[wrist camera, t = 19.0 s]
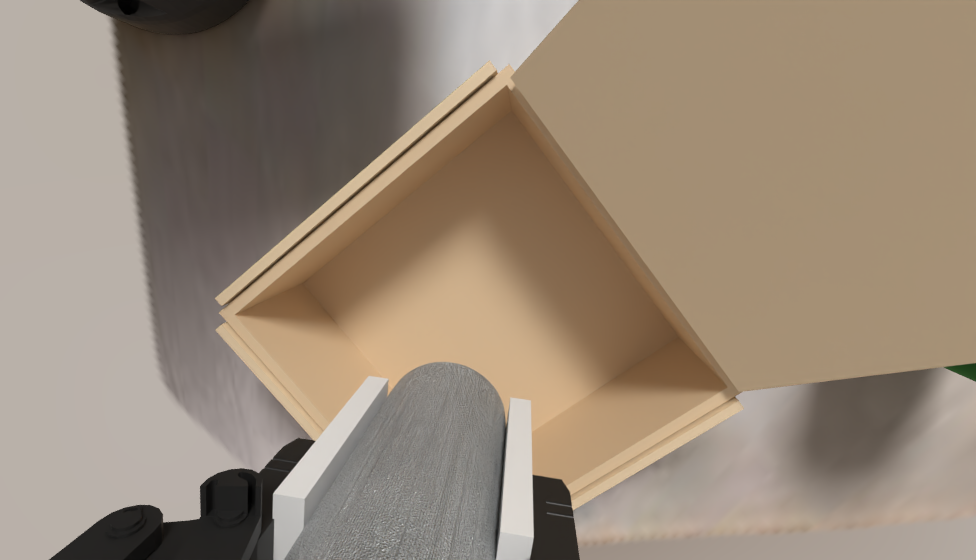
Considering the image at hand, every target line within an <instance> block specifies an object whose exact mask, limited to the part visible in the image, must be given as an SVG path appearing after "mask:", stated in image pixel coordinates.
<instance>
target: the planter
mask: <svg viewBox="0 0 976 560" xmlns="http://www.w3.org/2000/svg"><path fill="white" fill-rule="evenodd" d="M505 434H506V418H505V410H504V405H503V402H502V400H501V398H500V396H499V394H498V392H497V390H496V389H495V388H494V386H493V385H492V384H491V383H490V382H489V381H488V380H487V379H486V378H485V377H484V376H483V375H481V374H480V373H478V372H477V371H475V370H473V369H471V368H469V367H467V366H464V365H461V364H457V363H452V362H433V363H428V364H424V365H422V366H419V367H417V368H415V369H413V370H411V371H410V372H408V373H407V374H406V375H405V376H403V377H402V378H401V379H400V380H399V382H398V383H397V384H396V385H395V387H394V388H393V389H392V391H391V392H390V393H389V395H388V397H387V398H386V400H385V401H384V403H383V404H382V406H381V408H380V409H379V411H378V412H377V414H376V415H375V417H374V419H373V420H372V422H371V423H370V425H369V426H368V428H367V430H366V431H365V433H364V434H363V436H362V437H361V439H360V441H359V442H358V444H357V445H356V447H355V448H354V450H353V452H352V453H351V455H350V456H349V458H348V460H347V461H346V463H345V464H344V466H343V467H342V469H341V471H340V472H339V474H338V475H337V477H336V478H335V480H334V482H333V483H332V485H331V486H330V488H329V489H328V491H327V493H326V494H325V496H324V497H323V499H322V500H321V502H320V504H319V505H318V507H317V508H316V510H315V511H314V513H313V515H312V516H311V518H310V519H309V521H308V522H307V524H306V526H305V527H304V529H303V530H302V532H301V533H300V535H299V537H298V538H297V540H296V541H295V543H294V544H293V546H292V548H291V549H290V551H289V552H288V554H287V555H286V557H285V559H284V560H495V559H496V547H497V535H498V522H499V509H500V497H501V484H502V472H503V459H504V447H505Z"/></svg>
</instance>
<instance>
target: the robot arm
mask: <svg viewBox="0 0 976 560" xmlns="http://www.w3.org/2000/svg"><path fill="white" fill-rule="evenodd" d="M81 1H82V2H83V3H85V4H87V5H89V6H90V7H92V8H94V9H95V10H97V11H99V12H101V13H103V14H106V15H108V16H110V17H113V18H115V19H118V20H120V21H123V22H125V23H128V24H130V25H133V26H135V27H138V28H141V29H144V30H147V31H151V32H156V33H162V34H187V33H194V32H198V31H202V30H205V29H208V28H210V27H213V26H215V25H217V24H219V23H221V22H223V21H225V20H226V19H228V18H229V17H231V16H232V15H233V14H235V13H236V12H237V11H238V10H239V9H241V8H242V7H243V6H244V5H245V4H246V3H247V2H248V0H81ZM388 382H389V379H387V378H380V377H374V376H368V377H367V379H366V380H365V381H364V382H363V384H362V385H361V386H360V387H359V389H358V390H357V391H356V392H355V393H354V395H353V396H352V397H351V398H350V400H349V401H348V402H347V403H346V405H345V406H344V407H343V408H342V409H341V411H340V412H339V413H338V414H337V416H336V417H335V418H334V419H333V421H332V422H331V423H330V424H329V425H328V427H327V428H326V429H325V430H324V432H323V433H322V434H321V435H320V436H319V438H318V439H317V440H316V441H313V440H306V439H300V438H298V439H296V440H294V441H293V442H291V443H289V444H287V445H285V446H284V447H283V448H282V449H281V450H280V451H279V452H278V453H277V454H276V455H275V456H274V457H273V460H271V461H270V462H269V463H268V464H267V465H266V466H265V469H262V470H261V472H260V473H257V472H255V471H253V470H249V469H242V468H241V469H231V470H227V471H224V472H220V473H217V474H216V475H214V476H212V477H210V478H208V479H207V480H206V481H205V482H204V483H203V484H202V485H201V486H200V500H201V501H200V503H201V517H200V519H197V520H190V521H178V522H166V523H163V514H162V513H161V511H160V509H159V508H156V507H154V506H151V505H136V506H131V507H126V508H123V509H120V510H118V511H115V512H113V513H111V514H109V515H107V516H106V517H104V518H103V519H101V520H100V521H98V522H97V523H95V524H94V525H93V526H92V527H90V528H89V529H88V530H87V531H85V532H84V533H83V534H81V535H80V536H79V537H78V538H76V539H75V540H74V541H73V542H71V543H70V544H69V545H67V546H66V547H65V548H64V549H62V550H61V551H60V552H59V553H57V554H56V555H55V556H53V557H52V558H51V559H50V560H284V559H285V557H286V555H287V554H288V552H289V551H290V549H291V548H292V546H293V544H294V543H295V541H296V540H297V538H298V537H299V535H300V533H301V532H302V530H303V529H304V527H305V526H306V524H307V522H308V521H309V519H310V518H311V516H312V515H313V513H314V511H315V510H316V508H317V507H318V505H319V504H320V502H321V500H322V499H323V497H324V496H325V494H326V493H327V491H328V489H329V488H330V486H331V485H332V483H333V482H334V480H335V478H336V477H337V475H338V474H339V472H340V471H341V469H342V467H343V466H344V464H345V463H346V461H347V460H348V458H349V456H350V455H351V453H352V452H353V450H354V448H355V447H356V445H357V444H358V442H359V441H360V439H361V437H362V436H363V434H364V433H365V431H366V430H367V428H368V426H369V425H370V423H371V422H372V420H373V419H374V417H375V415H376V414H377V412H378V411H379V409H380V408H381V406H382V404H383V403H384V401H385V400H386V398H387V394H388ZM495 560H580V559H579V553H578V544H577V537H576V530H575V523H574V519H573V509H572V502H571V495H570V491H569V490H568V488H567V487H566V485H565V484H564V482H563V481H562V479H556V478H550V477H544V476H538V475H532V430H531V400H525V399H518V398H512V397H510V403H509V410H508V417H507V424H506V434H505V447H504V459H503V472H502V484H501V497H500V509H499V522H498V535H497V547H496V559H495Z"/></svg>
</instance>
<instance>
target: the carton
mask: <svg viewBox="0 0 976 560" xmlns="http://www.w3.org/2000/svg"><path fill="white" fill-rule="evenodd" d="M514 73H515V71H514V70H513V69H512V67H511V66H510V65H508V66H507V67H505V68H504V69H503V70H502V71H501V72H500V73H497V70H496V68H495V67H494V66H493V64H492V63H491V62H490V60H489V61H488V62H487V63H486V64H485V65H484V66H482V67H481V68H480V69H479V70H478V71H477V72H475V73H474V74H473V75H472V76H471V77H470V78H469V79H467V80H466V81H465V82H464V83H463V84H462V85H460V86H459V87H458V88H457V89H456V90H455V91H454V92H452V93H451V94H450V95H449V96H448V97H447V98H445V99H444V100H443V101H442V102H441V103H440V104H439V105H437V106H436V107H435V108H434V109H433V110H432V111H430V112H429V113H428V114H427V115H426V116H425V117H424V118H422V119H421V120H420V121H419V122H418V123H417V124H415V125H414V126H413V127H412V128H411V129H410V130H409V131H407V132H406V133H405V134H404V135H403V136H402V137H400V138H399V139H398V140H397V141H396V142H395V143H394V144H392V145H391V146H390V147H389V148H388V149H387V150H385V151H384V152H383V153H382V154H381V155H380V156H379V157H377V158H376V159H375V160H374V161H373V162H372V163H370V164H369V165H368V166H367V167H366V168H365V169H364V170H362V171H361V172H360V173H359V174H358V175H357V176H355V177H354V178H353V179H352V180H351V181H350V182H349V183H347V184H346V185H345V186H344V187H343V188H342V189H340V190H339V191H338V192H337V193H336V194H335V195H334V196H332V197H331V198H330V199H329V200H328V201H327V202H325V203H324V204H323V205H322V206H321V207H320V208H319V209H317V210H316V211H315V212H314V213H313V214H312V215H310V216H309V217H308V218H307V219H306V220H305V221H304V222H302V223H301V224H300V225H299V226H298V227H297V228H295V229H294V230H293V231H292V232H291V233H290V234H289V235H287V236H286V237H285V238H284V239H283V240H282V241H280V242H279V243H278V244H277V245H276V246H275V247H274V248H272V249H271V250H270V251H269V252H268V253H267V254H265V255H264V256H263V257H262V258H261V259H260V260H259V261H257V262H256V263H255V264H254V265H253V266H252V267H250V268H249V269H248V270H247V271H246V272H245V273H244V274H242V275H241V276H240V277H239V278H238V279H237V280H235V281H234V282H233V283H232V284H231V285H230V286H229V287H227V288H226V289H225V290H224V291H223V292H222V293H220V294H219V295H218V296H217V297H216V298H215V299H216V300H217V302H218V303H219V304H220V305H221V306H223V305H225V304H228V303H229V304H228V305H227V306H226V307H225V308H224V309H222V310H221V311H220V312H219V313H220V315H221V316H222V317H223V318H224V319H225V320H226V321H227V322H226V323H223V324H221V325H220V326H219V327H218V328H217V329H216V331H217V333H218V334H219V335H220V336H221V337H222V338H223V339H224V340H225V341H226V343H227V344H228V345H229V346H230V347H231V348H232V349H233V350H234V352H235V353H236V354H237V355H238V356H239V357H240V358H241V359H242V361H243V362H244V363H245V364H246V365H247V366H248V367H249V368H250V370H251V371H252V372H253V373H254V374H255V375H256V376H257V377H258V378H259V380H260V381H261V382H262V383H263V384H264V385H265V386H266V387H267V389H268V390H269V391H270V392H271V393H272V394H273V395H274V396H275V398H276V399H277V400H278V401H279V402H280V403H281V404H282V405H283V406H284V408H285V409H286V410H287V411H288V412H289V413H290V414H291V415H292V417H293V418H294V419H295V420H296V421H297V422H298V423H299V424H300V426H301V427H302V428H303V429H304V430H305V431H306V432H307V433H308V435H309V436H310V437H311V438H312V439H313V440H314V441H316V440H317V439H318V438H319V436H320V435H321V434H322V433H323V432H324V430H325V429H326V428H327V427H328V425H329V424H330V423H331V422H332V421H333V419H334V418H335V417H336V416H337V414H338V413H339V412H340V411H341V409H342V408H343V407H344V406H345V405H346V403H347V402H348V401H349V400H350V398H351V397H352V396H353V395H354V393H355V392H356V391H357V390H358V389H359V387H360V386H361V385H362V384H363V382H364V381H365V380H366V379H367V377H368V376H374V377H380V378H387V379H389V382H388V394H387V397H388V395H389V393H390V392H391V391H392V389H393V388H394V387H395V385H396V384H397V383H398V382H399V380H400V379H401V378H402V377H403V376H405V375H406V374H407V373H408V372H410V371H411V370H413V369H415V368H417V367H419V366H422V365H424V364H428V363H433V362H452V363H457V364H461V365H464V366H467V367H469V368H471V369H473V370H475V371H477V372H478V373H480V374H481V375H483V376H484V377H485V378H486V379H487V380H488V381H489V382H490V383H491V384H492V385H493V386H494V388H495V389H496V390H497V392H498V394H499V396H500V398H501V400H502V402H503V405H504V410H505V418H506V424H507V417H508V410H509V403H510V397H512V398H518V399H525V400H531V430H532V475H538V476H544V477H550V478H556V479H562V481H563V482H564V484H565V485H566V487H567V488H568V490H569V491H570V495H571V502H572V509H573V510H575V509H576V508H578V507H580V506H581V505H583V504H585V503H586V502H588V501H590V500H591V499H593V498H595V497H596V496H598V495H600V494H601V493H603V492H605V491H606V490H608V489H610V488H612V487H613V486H615V485H617V484H618V483H620V482H622V481H623V480H625V479H627V478H628V477H630V476H632V475H633V474H635V473H637V472H638V471H640V470H642V469H643V468H645V467H647V466H648V465H650V464H652V463H654V462H655V461H657V460H659V459H660V458H662V457H664V456H665V455H667V454H669V453H670V452H672V451H674V450H675V449H677V448H679V447H680V446H682V445H684V444H685V443H687V442H689V441H691V440H692V439H694V438H696V437H697V436H699V435H701V434H702V433H704V432H706V431H707V430H709V429H711V428H712V427H714V426H716V425H717V424H719V423H721V422H722V421H724V420H726V419H728V418H729V417H731V416H733V415H734V414H736V413H738V412H739V411H741V410H743V409H744V408H743V406H742V405H741V404H740V402H739V401H738V400H737V399H736V398H735V396H736V395H738V394H740V393H741V392H739V391H738V390H737V389H736V387H735V386H734V385H733V383H732V382H731V380H730V379H729V378H728V376H727V375H726V374H725V372H724V371H723V369H722V368H721V367H720V365H719V364H718V363H717V361H716V360H715V358H714V357H713V356H712V354H711V353H710V352H709V350H708V349H707V347H706V346H705V345H704V343H703V342H702V341H701V339H700V338H699V336H698V335H697V334H696V332H695V331H694V330H693V328H692V327H691V325H690V324H689V323H688V321H687V320H686V319H685V317H684V316H683V314H682V313H681V312H680V310H679V309H678V308H677V306H676V305H675V304H674V302H673V301H672V299H671V298H670V297H669V295H668V294H667V293H666V291H665V290H664V288H663V287H662V286H661V284H660V283H659V282H658V280H657V279H656V277H655V276H654V275H653V273H652V272H651V271H650V269H649V268H648V266H647V265H646V264H645V262H644V261H643V260H642V258H641V257H640V255H639V254H638V253H637V251H636V250H635V249H634V247H633V246H632V244H631V243H630V242H629V240H628V239H627V238H626V236H625V235H624V233H623V232H622V231H621V229H620V228H619V227H618V225H617V224H616V223H615V221H614V220H613V218H612V217H611V216H610V214H609V213H608V212H607V210H606V209H605V207H604V206H603V205H602V203H601V202H600V201H599V199H598V198H597V196H596V195H595V194H594V192H593V191H592V190H591V188H590V187H589V185H588V184H587V183H586V181H585V180H584V179H583V177H582V176H581V174H580V173H579V172H578V170H577V169H576V168H575V166H574V165H573V163H572V162H571V161H570V159H569V158H568V157H567V155H566V154H565V152H564V151H563V150H562V148H561V147H560V146H559V144H558V143H557V142H556V140H555V139H554V137H553V136H552V135H551V133H550V132H549V131H548V129H547V128H546V126H545V125H544V124H543V122H542V121H541V120H540V118H539V117H538V115H537V114H536V113H535V111H534V110H533V109H532V107H531V106H530V104H529V103H528V102H527V100H526V99H525V98H524V96H523V95H522V93H521V92H520V91H519V89H518V88H517V87H516V85H515V84H514V82H513V81H512V80H511V78H510V77H511V76H512V75H513V74H514ZM230 302H231V303H230ZM742 392H743V391H742Z"/></svg>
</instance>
